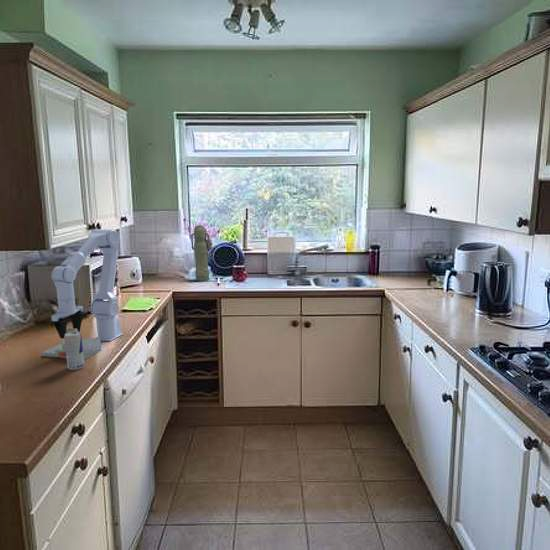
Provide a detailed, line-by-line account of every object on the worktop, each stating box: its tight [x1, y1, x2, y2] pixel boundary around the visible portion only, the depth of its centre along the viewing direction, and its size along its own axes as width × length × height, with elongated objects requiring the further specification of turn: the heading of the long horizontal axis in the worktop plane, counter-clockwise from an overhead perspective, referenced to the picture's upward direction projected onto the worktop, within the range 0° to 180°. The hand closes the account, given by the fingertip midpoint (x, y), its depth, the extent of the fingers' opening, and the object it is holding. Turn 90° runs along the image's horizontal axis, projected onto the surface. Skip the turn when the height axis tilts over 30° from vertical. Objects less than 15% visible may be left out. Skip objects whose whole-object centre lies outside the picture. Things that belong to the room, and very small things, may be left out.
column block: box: [61, 327, 78, 347], centre depth 179 cm, size 4×4×6 cm
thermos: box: [190, 225, 211, 282], centre depth 311 cm, size 9×12×35 cm
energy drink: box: [64, 331, 85, 371], centre depth 164 cm, size 5×5×12 cm
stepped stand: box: [41, 337, 102, 361], centre depth 179 cm, size 10×18×4 cm, turn 74°
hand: (70, 334), depth 178 cm, fingers open, 7 cm apart
